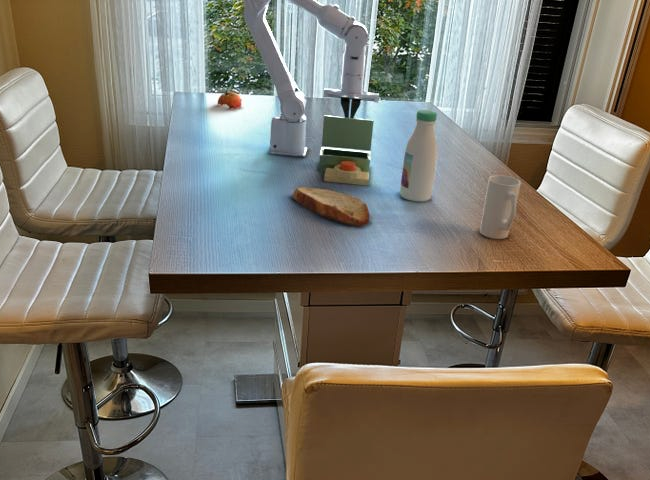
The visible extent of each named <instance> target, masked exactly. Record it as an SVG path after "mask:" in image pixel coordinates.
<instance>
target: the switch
mask: <svg viewBox="0 0 650 480" xmlns="http://www.w3.org/2000/svg"><path fill="white" fill-rule="evenodd" d="M340 169H341V170H344V171H355V163H354V162H351V161H343V162H341V168H340Z"/></svg>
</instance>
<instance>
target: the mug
mask: <svg viewBox="0 0 650 480" xmlns="http://www.w3.org/2000/svg"><path fill="white" fill-rule="evenodd" d="M521 184H522V182H521V180H519V179H518V178H516V177H513V176H509V175H503V174H494V175H490V176H488V181H487V186H486V192H485V198H484V202H483V208H482V214H481V220H480V226H479V234H481V236H484V237H486V238H489V239H493V240H503V239H506V238H508V236H509V233H510V230H511V227H512V225H513V222H514V220H515V217H516V212H517V205H518V204H517V203H518V196H519V194H520V188H521Z"/></svg>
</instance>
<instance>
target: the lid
mask: <svg viewBox="0 0 650 480" xmlns="http://www.w3.org/2000/svg"><path fill="white" fill-rule="evenodd" d="M373 131H374V120H373V119H364V118H355V117H354V118H350V117H349V118H345V116H334V115H323V124H322V135H321V136H322V137H321V147H326V148H336V149H346V150H356V151H366V152H371V151H372V141H373Z"/></svg>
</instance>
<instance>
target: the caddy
mask: <svg viewBox="0 0 650 480" xmlns="http://www.w3.org/2000/svg"><path fill="white" fill-rule="evenodd" d="M318 159H319V161H318V162H319V163H318V171H319V172H320V171H321V172H326V168H332V169H334V168H335V166H337V165H341V162H343V161H351V162H354V163H355V166H357V167H359V168H360V169H361V171H362V172H369V173H370V165H371V151H365V150H355V149H345V148H335V147H325V146H321V148H320V153H319V158H318Z"/></svg>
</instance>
